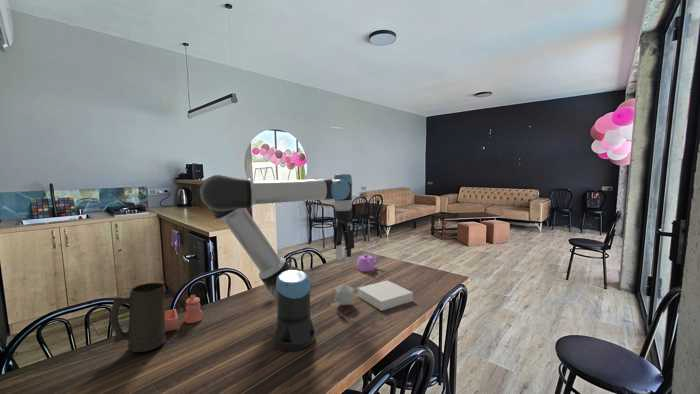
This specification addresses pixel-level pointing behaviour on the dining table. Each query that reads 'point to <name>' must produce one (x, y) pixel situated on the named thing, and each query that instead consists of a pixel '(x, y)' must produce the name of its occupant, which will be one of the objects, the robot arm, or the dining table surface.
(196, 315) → the pottery
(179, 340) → the dining table surface
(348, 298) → the die
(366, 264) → the teapot
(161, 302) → the beer stein
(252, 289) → the dining table surface
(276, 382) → the dining table surface
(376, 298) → the plinth
